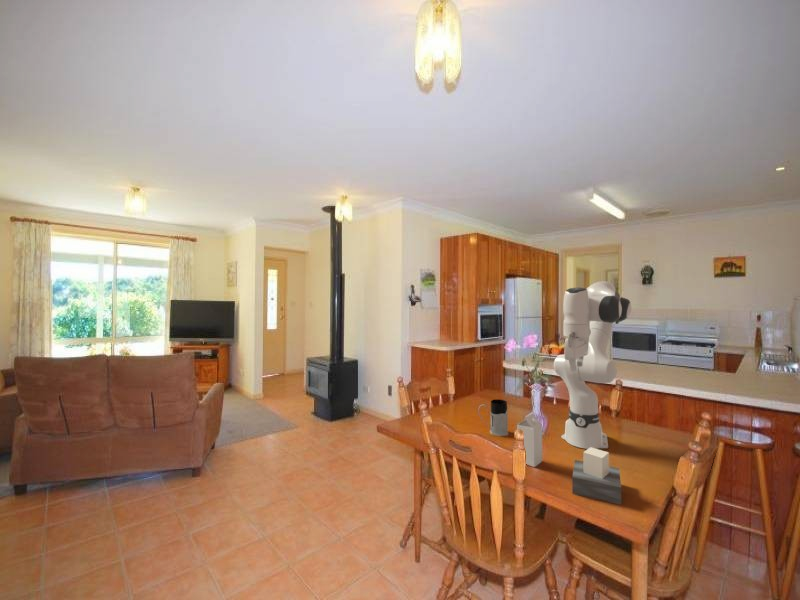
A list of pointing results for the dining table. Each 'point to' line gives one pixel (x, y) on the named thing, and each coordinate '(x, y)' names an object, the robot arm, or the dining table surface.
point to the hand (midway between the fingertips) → (576, 368)
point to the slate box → (597, 484)
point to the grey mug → (498, 418)
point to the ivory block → (596, 462)
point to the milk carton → (532, 439)
